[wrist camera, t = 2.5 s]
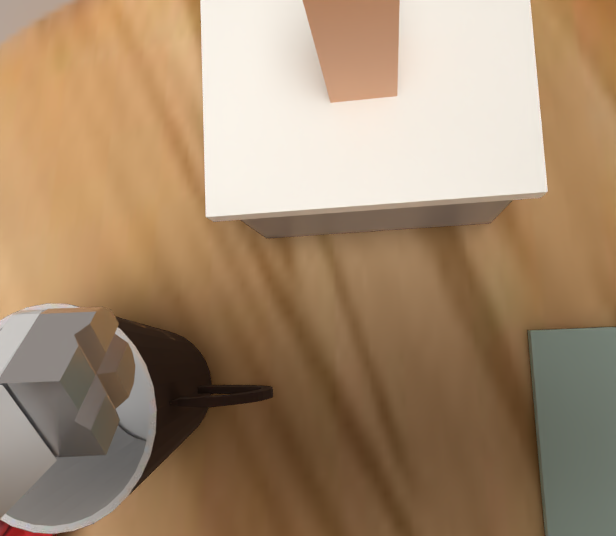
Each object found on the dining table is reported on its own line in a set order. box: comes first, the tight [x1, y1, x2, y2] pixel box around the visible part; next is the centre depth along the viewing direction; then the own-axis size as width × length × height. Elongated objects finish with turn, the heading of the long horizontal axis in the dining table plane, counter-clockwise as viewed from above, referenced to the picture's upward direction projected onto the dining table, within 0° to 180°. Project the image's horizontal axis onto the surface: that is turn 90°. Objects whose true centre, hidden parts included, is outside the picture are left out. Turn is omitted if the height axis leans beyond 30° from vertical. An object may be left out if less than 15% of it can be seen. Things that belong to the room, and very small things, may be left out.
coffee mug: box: [0, 304, 273, 534], centre depth 26 cm, size 12×9×10 cm
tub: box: [241, 200, 512, 238], centre depth 28 cm, size 16×12×8 cm
